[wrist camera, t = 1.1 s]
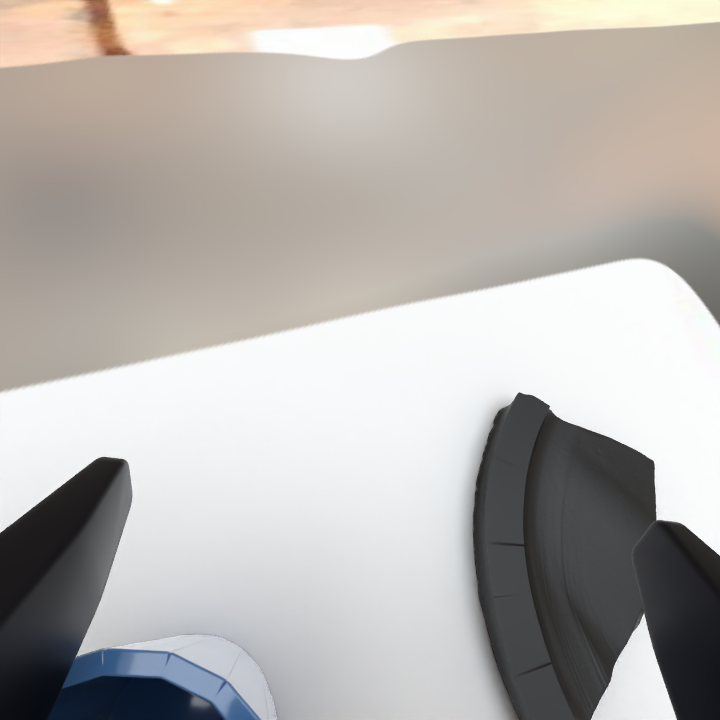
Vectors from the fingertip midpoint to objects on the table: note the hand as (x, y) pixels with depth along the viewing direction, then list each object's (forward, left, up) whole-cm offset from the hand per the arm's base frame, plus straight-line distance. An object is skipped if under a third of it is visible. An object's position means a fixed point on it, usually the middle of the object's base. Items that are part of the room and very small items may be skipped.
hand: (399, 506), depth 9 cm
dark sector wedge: (+6, -9, -14) cm, 18 cm away
